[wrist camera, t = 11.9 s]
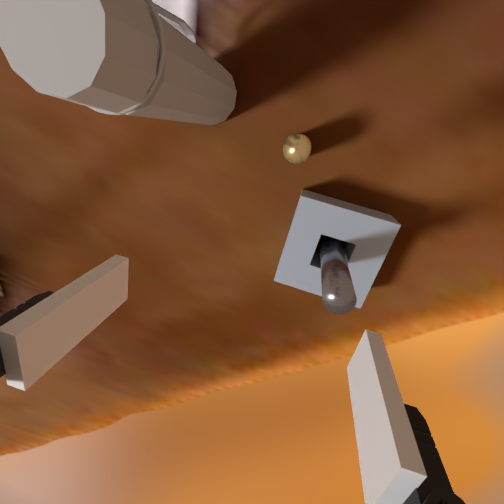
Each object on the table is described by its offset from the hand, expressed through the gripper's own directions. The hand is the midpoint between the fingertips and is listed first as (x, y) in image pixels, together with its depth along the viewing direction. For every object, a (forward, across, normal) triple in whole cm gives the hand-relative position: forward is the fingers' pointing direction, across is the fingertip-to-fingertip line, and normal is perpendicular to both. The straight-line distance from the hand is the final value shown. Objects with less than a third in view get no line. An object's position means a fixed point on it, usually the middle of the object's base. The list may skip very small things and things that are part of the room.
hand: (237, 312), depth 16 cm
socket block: (+27, +8, -4) cm, 28 cm away
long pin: (+27, +8, -4) cm, 28 cm away
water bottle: (+28, -13, +12) cm, 33 cm away
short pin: (+27, 0, +7) cm, 28 cm away
